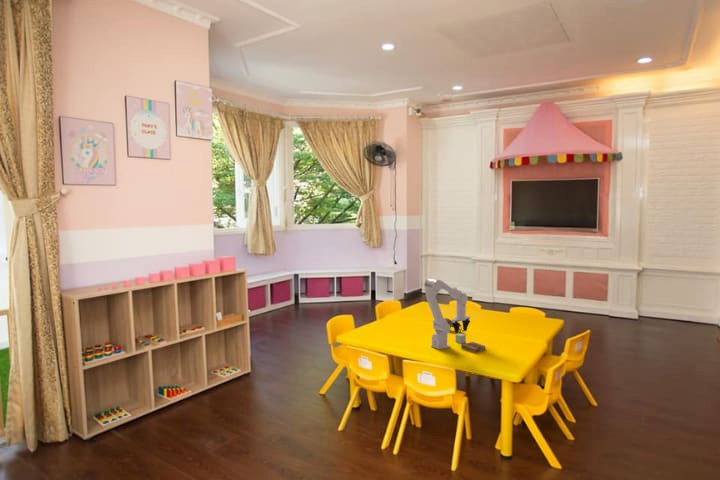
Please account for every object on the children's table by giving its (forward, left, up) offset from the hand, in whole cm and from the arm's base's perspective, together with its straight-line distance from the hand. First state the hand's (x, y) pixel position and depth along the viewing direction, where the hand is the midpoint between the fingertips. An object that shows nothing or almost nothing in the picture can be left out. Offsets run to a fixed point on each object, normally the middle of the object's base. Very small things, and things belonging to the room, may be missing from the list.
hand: (460, 331), depth 286 cm
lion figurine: (+14, +20, -7) cm, 26 cm away
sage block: (0, 0, -7) cm, 7 cm away
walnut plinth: (-4, -14, -7) cm, 16 cm away
